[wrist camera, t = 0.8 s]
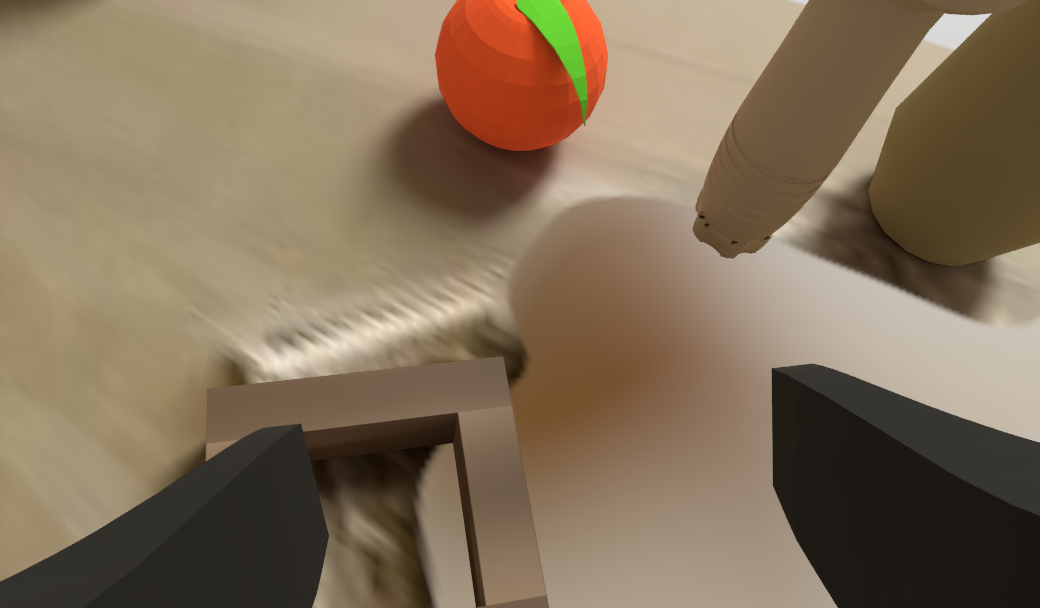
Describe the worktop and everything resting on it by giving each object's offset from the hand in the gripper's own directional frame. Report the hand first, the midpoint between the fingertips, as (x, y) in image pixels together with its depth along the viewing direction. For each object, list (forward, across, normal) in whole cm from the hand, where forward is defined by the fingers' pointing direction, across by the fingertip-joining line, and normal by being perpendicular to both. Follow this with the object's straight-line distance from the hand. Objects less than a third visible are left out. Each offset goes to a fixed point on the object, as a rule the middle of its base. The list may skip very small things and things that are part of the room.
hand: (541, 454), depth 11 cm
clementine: (+23, 0, -2) cm, 23 cm away
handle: (+21, -8, +2) cm, 22 cm away
